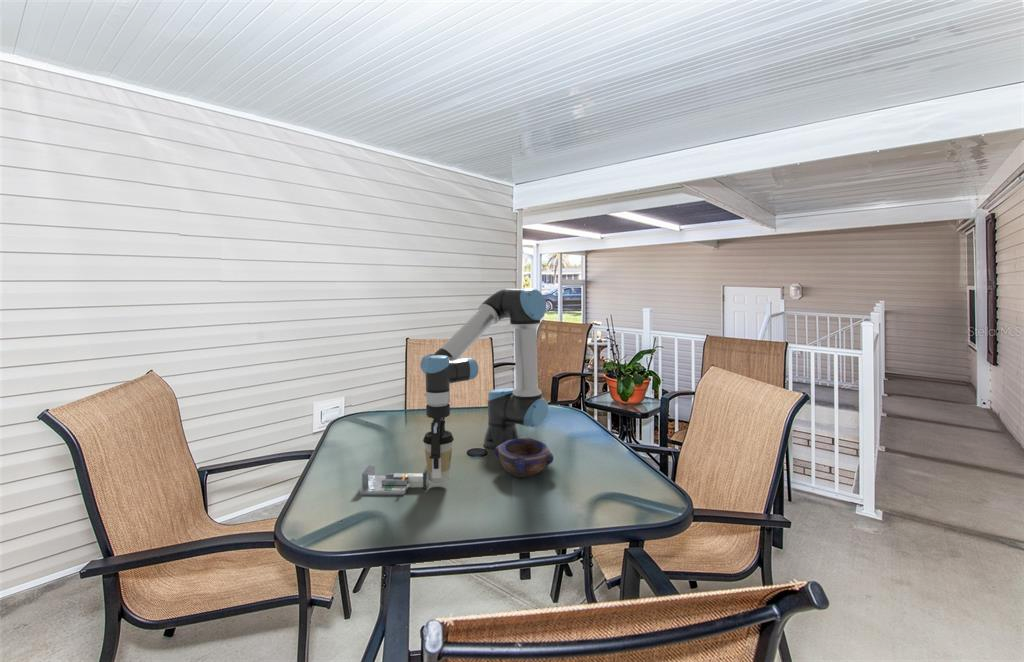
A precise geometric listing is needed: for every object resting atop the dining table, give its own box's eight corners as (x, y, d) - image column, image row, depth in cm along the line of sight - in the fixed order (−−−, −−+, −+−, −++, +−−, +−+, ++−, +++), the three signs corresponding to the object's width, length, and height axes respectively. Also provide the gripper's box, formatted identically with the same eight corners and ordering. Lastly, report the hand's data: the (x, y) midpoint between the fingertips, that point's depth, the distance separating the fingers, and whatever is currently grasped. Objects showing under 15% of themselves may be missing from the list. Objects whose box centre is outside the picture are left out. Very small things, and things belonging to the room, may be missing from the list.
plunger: (429, 480, 153) (429, 465, 153) (425, 490, 145) (424, 475, 145) (396, 480, 153) (396, 466, 153) (390, 491, 145) (389, 475, 145)
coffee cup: (459, 475, 153) (458, 431, 152) (445, 487, 144) (445, 440, 142) (432, 471, 156) (432, 428, 155) (418, 482, 147) (417, 437, 146)
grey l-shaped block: (412, 478, 156) (412, 462, 156) (404, 494, 144) (404, 477, 144) (371, 479, 156) (370, 463, 155) (359, 494, 144) (359, 477, 143)
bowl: (513, 487, 149) (513, 457, 148) (489, 468, 165) (489, 441, 164) (559, 477, 158) (559, 449, 157) (532, 460, 173) (533, 434, 173)
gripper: (431, 396, 158) (432, 459, 160) (420, 412, 137) (421, 485, 139) (453, 396, 158) (454, 459, 160) (445, 412, 137) (446, 485, 139)
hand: (438, 471), depth 150 cm, fingers closed on coffee cup, 9 cm apart
